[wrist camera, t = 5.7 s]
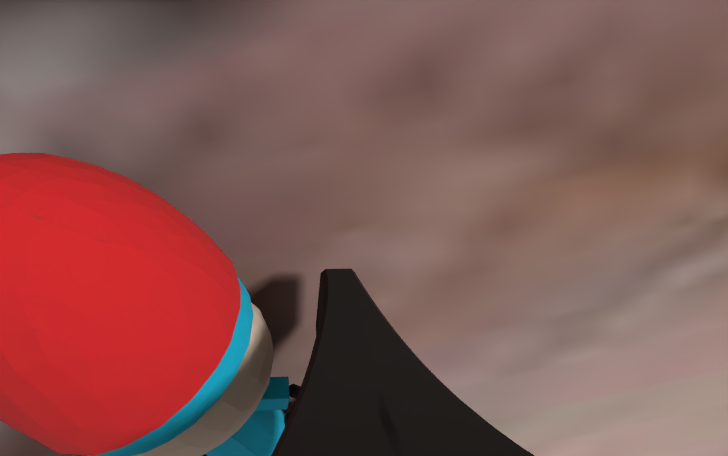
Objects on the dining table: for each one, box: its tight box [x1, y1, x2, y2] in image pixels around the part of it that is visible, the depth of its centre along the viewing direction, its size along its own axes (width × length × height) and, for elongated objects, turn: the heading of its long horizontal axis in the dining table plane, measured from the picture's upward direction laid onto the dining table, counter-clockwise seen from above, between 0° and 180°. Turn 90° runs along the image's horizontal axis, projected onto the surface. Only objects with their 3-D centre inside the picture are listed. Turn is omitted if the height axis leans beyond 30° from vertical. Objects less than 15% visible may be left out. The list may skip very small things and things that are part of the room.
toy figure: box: [0, 153, 301, 456], centre depth 12 cm, size 8×5×15 cm
